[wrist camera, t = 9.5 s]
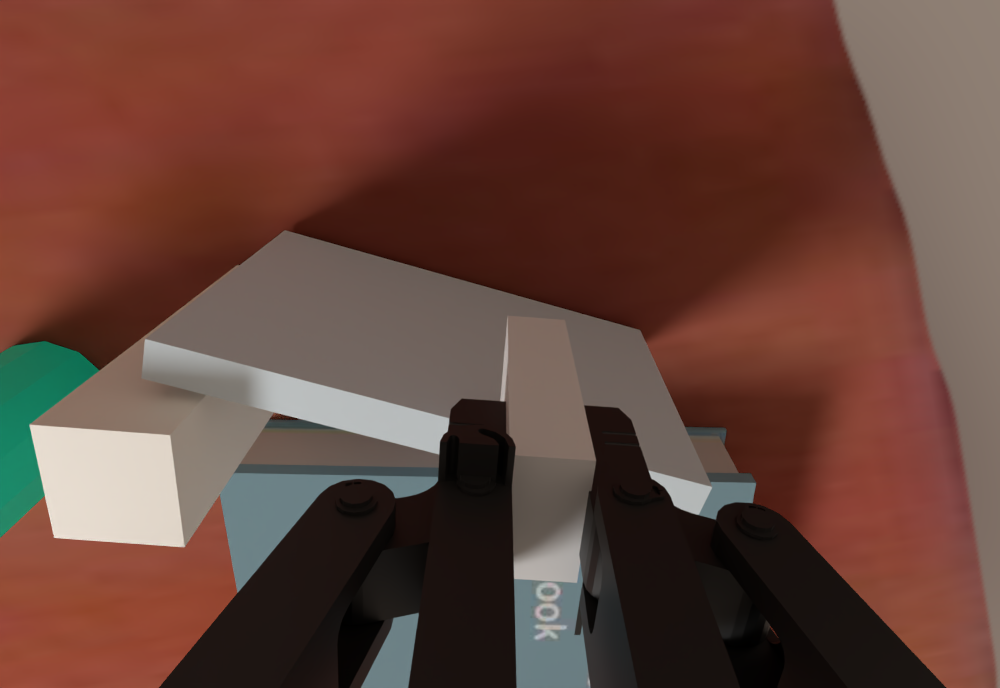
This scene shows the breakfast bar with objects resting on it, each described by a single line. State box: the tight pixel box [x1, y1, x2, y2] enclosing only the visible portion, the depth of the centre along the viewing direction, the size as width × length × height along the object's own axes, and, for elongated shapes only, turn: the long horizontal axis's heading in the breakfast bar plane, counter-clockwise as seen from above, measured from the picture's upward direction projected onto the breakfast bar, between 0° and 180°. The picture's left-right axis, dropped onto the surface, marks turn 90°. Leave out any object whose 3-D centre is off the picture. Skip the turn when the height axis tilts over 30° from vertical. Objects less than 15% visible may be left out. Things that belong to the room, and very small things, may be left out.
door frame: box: [30, 265, 274, 547], centre depth 20 cm, size 25×4×14 cm, turn 176°
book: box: [220, 419, 756, 688], centre depth 34 cm, size 23×16×5 cm
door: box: [141, 230, 712, 515], centre depth 25 cm, size 16×3×12 cm, turn 74°
